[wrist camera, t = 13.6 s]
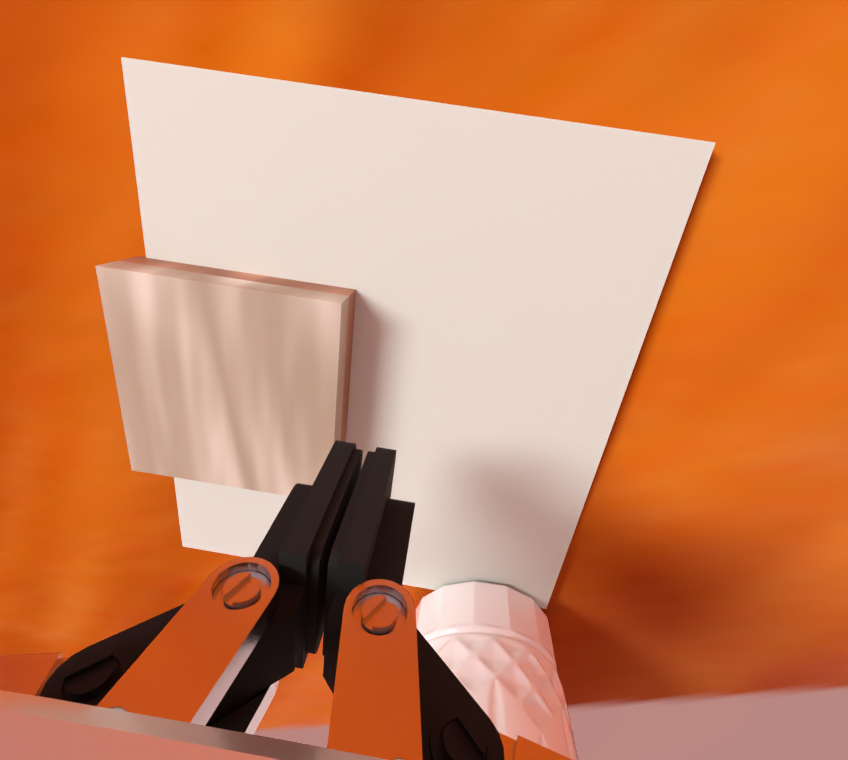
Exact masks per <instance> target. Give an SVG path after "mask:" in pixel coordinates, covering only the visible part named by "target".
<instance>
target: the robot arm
mask: <svg viewBox="0 0 848 760" xmlns="http://www.w3.org/2000/svg"><path fill="white" fill-rule="evenodd" d="M362 456H363V450H360V449H356V443H350V442H344V441H338V440H336V441H335V442H334V444H333V446H332V448H331V450H330V452H329V454H328V456H327V458H326V460H325V462H324V464H323V466H322V468H321V470H320V471H319V473H318V475H317V477H316V479H315V481H314V483H313V485H306V484H300V483H297V484H295V486H294V487H293V488H292V490H291V492H290V494H289V495H288V497H287V499H286V501H285V502H284V504H283V506H282V508H281V509H280V511H279V513H278V515H277V516H276V518H275V520H274V522H273V523H272V525H271V527H270V529H269V530H268V532H267V534H266V536H265V537H264V539H263V541H262V543H261V544H260V546H259V548H258V550H257V551H256V553H255V555H254V557H241V558H237V559H234V560H231V561H228V562H227V563H225V564H223V565H221V566H219V567H218V568H217V569H216V570H215V571H214V572H213V573H211V574H210V575H209V577H208V578H207V579H206V580H205V581H204V582H203V584H202V585H201V586H200V587H199V588H198V589H197V590H196V592H195V593H194V594H193V595H192V596H191V597H190V599H189V600H188V601H187V602H186V603H185V604H183V605H180V606H178V607H176V608H174V609H171V610H169V611H167V612H165V613H163V614H160V615H158V616H156V617H154V618H151V619H149V620H147V621H145V622H142V623H140V624H138V625H136V626H133V627H131V628H129V629H127V630H125V631H122V632H120V633H118V634H116V635H113V636H111V637H109V638H107V639H104V640H102V641H100V642H98V643H95V644H93V645H91V646H89V647H87V648H85V649H83V650H81V651H80V652H78V653H76V654H74V655H72V656H71V657H70V658H62V655H61V652H58V653H40V654H22V655H5V656H0V760H572V759H570V758H568V757H566V756H563V755H561V754H559V753H557V752H555V751H552V750H550V749H548V748H546V747H543V746H541V745H539V744H537V743H535V742H532V741H530V740H528V739H526V738H524V737H521V736H519V735H517V738H516V740H514V739H512V738H510V737H508V736H506V735H504V734H501V733H499V732H498V730H497V729H496V727H495V726H494V724H493V722H492V721H491V719H490V718H489V717H488V716H487V714H486V713H485V712H484V711H483V709H482V708H481V707H480V706H479V704H478V703H477V702H476V701H475V700H474V698H473V697H472V696H471V695H470V693H469V692H468V691H467V690H466V688H465V687H464V686H463V685H462V683H461V682H460V681H459V680H458V678H457V677H456V676H455V675H454V674H453V672H452V671H451V670H450V669H449V667H448V666H447V665H446V664H445V662H444V661H443V660H442V659H441V657H440V656H439V655H438V654H437V653H436V651H435V650H434V649H433V648H432V646H431V645H430V644H429V643H428V641H427V640H426V639H425V638H424V636H423V635H422V634H421V633H420V632H419V630H418V629H417V628H416V610H415V605H414V601H413V599H412V597H411V596H410V594H409V592H408V591H407V590H406V589H404V588H403V587H402V583H403V577H404V571H405V564H406V558H407V552H408V546H409V540H410V533H411V527H412V521H413V515H414V508H415V503H414V502H408V501H402V500H396V499H390V498H391V491H392V483H393V475H394V468H395V460H396V450H392V449H386V448H380V447H377V448H376V450H375V452H372V451H368V452H367V455H366V458H365V460H364V463H363V466H362ZM361 467H362V469H361ZM323 632H324V637H323V655H324V670H323V677H324V679H325V680H326V682H327V684H328V686H329V687H330V689H331V691H332V693H333V703H332V711H331V720H330V728H329V737H328V745H327V748H323V747H317V746H312V745H307V744H301V743H296V742H290V741H285V740H279V739H274V738H269V737H263V736H258V735H254V733H255V731H256V729H257V727H258V725H259V723H260V721H261V719H262V718H263V716H264V714H265V712H266V710H267V708H268V706H269V704H270V702H271V701H272V699H273V697H274V695H275V693H276V690H277V687H278V685H279V680H280V679H282V678H283V677H285V676H286V675H288V674H290V673H291V672H293V671H294V669H295V667H297V668H303V667H304V664H305V661H306V658H307V655H308V653H313V654H316V652H317V650H318V647H319V644H320V641H321V638H322V635H323Z"/></svg>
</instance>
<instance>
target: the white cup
mask: <svg viewBox="0 0 848 760" xmlns="http://www.w3.org/2000/svg"><path fill="white" fill-rule="evenodd" d="M416 628H417V629H418V630H419V632H420V633H421V634H422V635H423V636H424V638H425V639H426V640H427V641H428V643H429V644H430V645H431V646H432V648H433V649H434V650H435V651H436V653H437V654H438V655H439V656H440V657H441V659H442V660H443V661H444V662H445V664H446V665H447V666H448V667H449V669H450V670H451V671H452V672H453V674H454V675H455V676H456V677H457V678H458V680H459V681H460V682H461V683H462V685H463V686H464V687H465V688H466V690H467V691H468V692H469V693H470V695H471V696H472V697H473V698H474V700H475V701H476V702H477V703H478V704H479V706H480V707H481V708H482V709H483V711H484V712H485V713H486V714H487V716H488V717H489V718H490V719H491V721H492V722H493V724H494V726H495V727H496V729H497V730H498V732H499V733H501V734H504V735H506V736H508V737H510V738H512V739H514V740H516V738H517V735H519V736H521V737H524V738H526V739H528V740H530V741H532V742H535V743H537V744H539V745H541V746H543V747H546V748H548V749H550V750H552V751H555V752H557V753H559V754H561V755H563V756H566V757H568V758H570V759H572V760H578V755H577V751H576V747H575V742H574V738H573V733H572V729H571V725H570V720H569V713H568V708H567V704H566V699H565V695H564V690H563V687H562V684H561V682H560V679H559V676H558V673H557V667H556V661H555V656H554V650H553V645H552V639H551V633H550V628H549V622H548V618H547V616H546V615H545V614H544V612H543V611H542V610H541V609H540V607H539V606H538V605H537V604H536V603H535V601H534V600H533V599H532V598H530V597H528V596H526V595H524V594H522V593H520V592H518V591H516V590H514V589H512V588H509V587H507V586H503V585H497V584H491V583H484V582H477V581H472V582H464V583H457V584H450V585H445V586H442V587H441V588H439V589H437V590H435V591H433V592H431V593H430V594H428V595H426V596H424V597H423V598H422V599H421V601H420V603H419V605H418V607H417V608H416Z"/></svg>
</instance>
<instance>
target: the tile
mask: <svg viewBox="0 0 848 760" xmlns="http://www.w3.org/2000/svg"><path fill="white" fill-rule="evenodd" d="M96 272H97V277H98V283H99V289H100V294H101V300H102V305H103V311H104V317H105V322H106V328H107V334H108V339H109V345H110V350H111V356H112V362H113V367H114V373H115V379H116V384H117V390H118V395H119V401H120V407H121V412H122V418H123V423H124V429H125V435H126V440H127V446H128V452H129V457H130V463H131V468H132V470H134V471H140V472H146V473H152V474H158V475H164V476H170V477H176V478H182V479H188V480H194V481H200V482H206V483H212V484H218V485H224V486H230V487H237V488H243V489H249V490H255V491H261V492H267V493H273V494H279V495H285V496H288V495H289V494H290V492H291V490H292V488H293V487H294V486H295V484H297V483H300V484H306V485H313V483H314V481H315V479H316V477H317V475H318V473H319V471H320V470H321V468H322V466H323V464H324V462H325V460H326V458H327V456H328V454H329V452H330V450H331V448H332V446H333V444H334V442H335V441H336V440H338V441H344V442H346V433H347V418H348V403H349V388H350V373H351V358H352V343H353V328H354V313H355V298H356V289H350V288H343V287H336V286H330V285H323V284H317V283H310V282H303V281H297V280H290V279H284V278H277V277H271V276H264V275H257V274H251V273H244V272H238V271H231V270H224V269H218V268H211V267H205V266H198V265H191V264H185V263H178V262H172V261H165V260H159V259H152V258H145V257H139V256H137V257H133V258H128V259H124V260H119V261H115V262H110V263H106V264H101V265H97V266H96Z"/></svg>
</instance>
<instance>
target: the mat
mask: <svg viewBox="0 0 848 760" xmlns="http://www.w3.org/2000/svg"><path fill="white" fill-rule="evenodd" d="M121 60H122V68H123V76H124V84H125V92H126V100H127V108H128V116H129V124H130V132H131V140H132V148H133V155H134V163H135V171H136V179H137V187H138V195H139V203H140V211H141V219H142V227H143V235H144V243H145V251H146V258H152V259H159V260H165V261H172V262H178V263H185V264H191V265H198V266H205V267H211V268H218V269H224V270H231V271H238V272H244V273H251V274H257V275H264V276H271V277H277V278H284V279H290V280H297V281H303V282H310V283H317V284H323V285H330V286H336V287H343V288H350V289H356V298H355V313H354V328H353V343H352V358H351V373H350V388H349V403H348V418H347V433H346V442H350V443H356V449H360V450H363V456H362V466H363V463H364V460H365V458H366V455H367V452H368V451H372V452H375V450H376V448H377V447H380V448H386V449H392V450H396V460H395V468H394V475H393V483H392V491H391V498H390V499H396V500H402V501H408V502H414V503H415V508H414V515H413V521H412V527H411V533H410V540H409V546H408V552H407V558H406V564H405V571H404V577H403V583H402V584H403V585H409V586H415V587H421V588H427V589H432V590H437V589H439V588H441V587H442V586H445V585H450V584H457V583H464V582H472V581H477V582H484V583H491V584H497V585H503V586H507V587H509V588H512V589H514V590H516V591H518V592H520V593H522V594H524V595H526V596H528V597H530V598H532V599H533V600H534V601H535V603H536V604H537V605H538V606H539V607H540V608H542V609H546V608H547V605H548V603H549V600H550V597H551V594H552V592H553V589H554V586H555V583H556V581H557V578H558V575H559V572H560V570H561V567H562V564H563V561H564V559H565V556H566V553H567V550H568V548H569V545H570V542H571V539H572V537H573V534H574V531H575V528H576V526H577V523H578V520H579V517H580V515H581V512H582V509H583V506H584V504H585V501H586V498H587V495H588V493H589V490H590V487H591V484H592V482H593V479H594V476H595V473H596V471H597V468H598V465H599V462H600V460H601V457H602V454H603V451H604V449H605V446H606V443H607V440H608V438H609V435H610V432H611V429H612V427H613V424H614V421H615V418H616V416H617V413H618V410H619V407H620V405H621V402H622V399H623V396H624V394H625V391H626V388H627V385H628V383H629V380H630V377H631V374H632V371H633V369H634V366H635V363H636V360H637V358H638V355H639V352H640V349H641V347H642V344H643V341H644V338H645V336H646V333H647V330H648V327H649V325H650V322H651V319H652V316H653V314H654V311H655V308H656V305H657V303H658V300H659V297H660V294H661V292H662V289H663V286H664V283H665V281H666V278H667V275H668V272H669V270H670V267H671V264H672V261H673V259H674V256H675V253H676V250H677V248H678V245H679V242H680V239H681V237H682V234H683V231H684V228H685V226H686V223H687V220H688V217H689V215H690V212H691V209H692V206H693V204H694V201H695V198H696V195H697V193H698V190H699V187H700V184H701V182H702V179H703V176H704V173H705V171H706V168H707V165H708V162H709V160H710V157H711V154H712V151H713V149H714V146H715V142H708V141H701V140H694V139H687V138H680V137H673V136H666V135H659V134H652V133H645V132H638V131H631V130H624V129H617V128H610V127H603V126H596V125H590V124H583V123H576V122H569V121H562V120H555V119H548V118H541V117H534V116H527V115H520V114H513V113H506V112H499V111H492V110H485V109H478V108H471V107H465V106H458V105H451V104H444V103H437V102H430V101H423V100H416V99H409V98H402V97H395V96H388V95H381V94H374V93H367V92H360V91H353V90H346V89H340V88H333V87H326V86H319V85H312V84H305V83H298V82H291V81H284V80H277V79H270V78H263V77H256V76H249V75H242V74H235V73H228V72H221V71H215V70H208V69H201V68H194V67H187V66H180V65H173V64H166V63H159V62H152V61H145V60H138V59H131V58H124V57H121ZM361 469H362V467H361ZM174 482H175V490H176V498H177V506H178V514H179V522H180V530H181V538H182V546H184V547H190V548H195V549H201V550H207V551H213V552H218V553H224V554H230V555H236V556H242V557H254V555H255V553H256V551H257V550H258V548H259V546H260V544H261V543H262V541H263V539H264V537H265V536H266V534H267V532H268V530H269V529H270V527H271V525H272V523H273V522H274V520H275V518H276V516H277V515H278V513H279V511H280V509H281V508H282V506H283V504H284V502H285V501H286V499H287V497H288V496H285V495H279V494H273V493H267V492H261V491H255V490H249V489H243V488H237V487H230V486H224V485H218V484H212V483H206V482H200V481H194V480H188V479H182V478H176V477H174Z"/></svg>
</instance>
